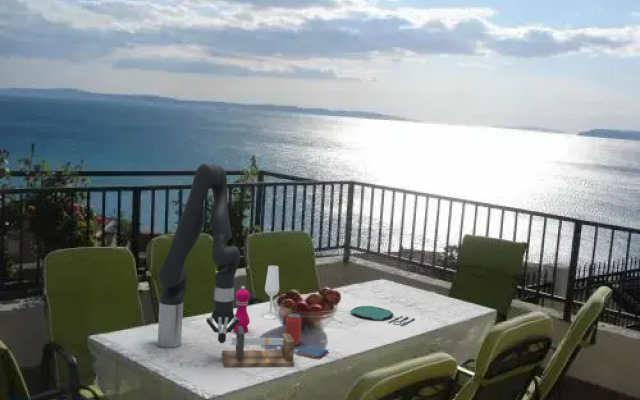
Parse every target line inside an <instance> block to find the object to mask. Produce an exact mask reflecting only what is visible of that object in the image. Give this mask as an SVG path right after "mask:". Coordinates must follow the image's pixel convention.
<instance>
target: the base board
mask: <svg viewBox="0 0 640 400" xmlns="http://www.w3.org/2000/svg"><path fill="white" fill-rule="evenodd" d="M281 338H284V339H285V345H281V349H280V350H279V349H276V350H274V349H273V350H272V349H270V350H269V349H268V350H267V349H265V350H261V349H260V350H258V349H257V350H249V349H248V350H245V349H244V352H243V357H238V356H237V352H236V349H235V350H221V357H222V360H223V361H222V363H223V367H224V368H273V367H274V368H284V367H286V368H287V367H289V368H290V367H294V366H295V362H294V354H295V353H294V351H295V345H294V340H293V338H292V336H291V334H285V333H282V336H281Z"/></svg>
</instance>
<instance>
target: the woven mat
mask: <svg viewBox="0 0 640 400" xmlns="http://www.w3.org/2000/svg"><path fill="white" fill-rule="evenodd" d="M329 351H330V350H329V349H328V348H327V349H326V348H322V347H316V346H312V345H305V346H304V347H302V348H301V349H299V350H297V352H296V353H295V354H296V356H299V357H300V356H301V357H302V356H303V357H304V358H310V359H313V360H318V361H319V360H321V359H322V358H323V357H325V356H326V355H328V354H329V353H330V352H329Z"/></svg>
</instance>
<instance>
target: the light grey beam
mask: <svg viewBox="0 0 640 400" xmlns="http://www.w3.org/2000/svg"><path fill="white" fill-rule="evenodd" d="M231 345H233V346H236V345H238V338H236V337H232V338H231ZM248 345H249V346H250V345H251V346H259V345H260V346H269V345H270V346H273V345H274V346H276V345H280V346H282V345H285V339H284V338H282V337H244V346H248Z"/></svg>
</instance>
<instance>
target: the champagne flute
mask: <svg viewBox="0 0 640 400" xmlns="http://www.w3.org/2000/svg"><path fill="white" fill-rule="evenodd" d="M267 266H268V267H267V272H266V280H265V286H264V291H265V293H266V294H267V295H268V296H269V297H270V298H269V309H268V310H269V312H268V313H266V314H265V315H263V316H262V317H263V318H264V319H267V318H268V320H269V319H270V320H273V319H274V318H275V319H277V318H278V316H277V315H276V314H274V313H273V301H274V300H273V297H275V296H277V294H278V293H279V292H280V278H279V277H280V276H279V275H280V273H279V272H280V271H279V269H280V268H279V266H278V265H267Z"/></svg>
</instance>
